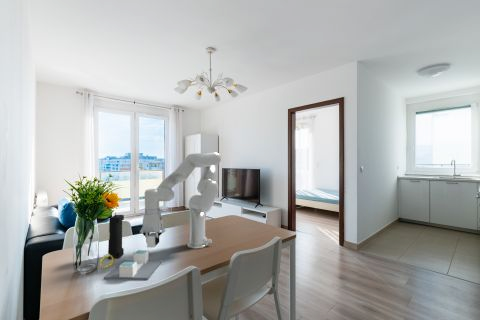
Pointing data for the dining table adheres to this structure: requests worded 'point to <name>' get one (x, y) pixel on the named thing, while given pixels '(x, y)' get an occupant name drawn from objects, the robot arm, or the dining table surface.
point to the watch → (105, 257)
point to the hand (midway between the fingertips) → (152, 243)
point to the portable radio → (115, 237)
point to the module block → (151, 240)
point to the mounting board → (139, 274)
